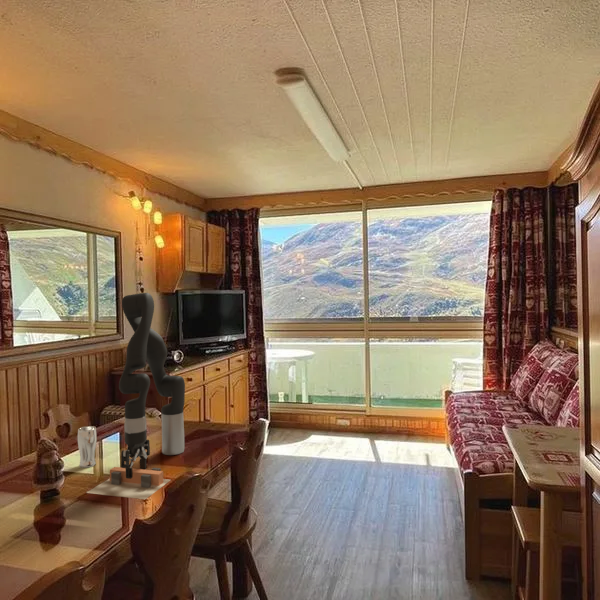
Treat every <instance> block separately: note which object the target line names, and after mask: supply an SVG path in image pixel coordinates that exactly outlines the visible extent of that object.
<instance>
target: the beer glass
mask: <svg viewBox="0 0 600 600" xmlns="http://www.w3.org/2000/svg"><path fill="white" fill-rule="evenodd" d="M77 445H78V446H77V448H78V450H79V451H78V452H79V456H80V457H79V458H80V460H79V464H78V465H79V466H78V467H79V468H81V469H87V468H88V469H89V468H92V467H94V466H96V464H97V463H96V459H95V457H96V456H95V455H96V454H95V453H96V446H97V427H96V426H94V425H93V426H92V425H89V426H81V427H80V428H78V429H77Z"/></svg>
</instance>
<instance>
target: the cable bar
mask: <svg viewBox="0 0 600 600" xmlns="http://www.w3.org/2000/svg"><path fill="white" fill-rule="evenodd" d="M132 471H133V477H132V478H131V479H128V478H126V469H125V468H121V466H114V467H112V468H110V469H109V478H110V481H111V473H112V472H121V482H127V483H137V484H141V476H142V475H143V474H146V475H151V485H157V486H159V485H161V484H162V483H163V479H164V471H163V470H161V471H154V470H151V469H145V470H143V469H140V468H133V467H132Z"/></svg>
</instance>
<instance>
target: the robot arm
mask: <svg viewBox="0 0 600 600" xmlns="http://www.w3.org/2000/svg"><path fill="white" fill-rule="evenodd" d="M121 307H122V311H123V314H124V316H125V318H126V319H127V321H128V323H129V325H130V327H131V328H132V330H133V332H134V333H133V334H132V336H131V338H130V339H129V340H128V341H129V342H128V344H127V347H126V357H125V358H126V359H125V364H124V368H123V371H122V373H121V376H120V378H119V382H118V390H119V391H120V393H122V394H124V395H131V394H138V395H139V396H138V397H136V398H133V399H132V398H131V399H129V400H127V401H125V404H124V427H123V428H124V444H126V446H127V448H126V449H125V450H124V449H123V450H121V452H120V453H121V454H120V467H121V468H125V469H126V478H128V479H131V478H132V477H133V471H132V468H133V465H134V463H135V462H136V460H137V459H138V458H139V469H143V470H147V458H148V457H149V456H150V455H151V449H150V440H149V439H148V438H147V435H148V434H147V433H148V431H147V416H146V404H147V403H146V402H147V396H148V393H149V389H150V385H151V379H150V376H149V375H148V374H147V373H134V372H135V371H138V370H142V369H144V368H145V367H146V365H147V364H148V367H149V370H150V373H151V375H152V378H153V383H154V385H155V388H156V392H157V393H158V394H159V395H160V396H161V397H164V398H171V401H170V403H167V404H164V405H163V406H161V453H162V455H166V456H174V455H176V456H177V455H180V454H182V453H184V451H185V428H184V427H185V426H184V422H185V421H184V407H185V403H186V402H185V398H186V397H185V395H186V383H185V379H184V377H183V376H181V375H170V374H169V375H168V374H167V373H166V369H165V363H166V361H167V357H168V349H167V345H166V343H165V341H164V339H163V337H162V336H161V334H159V333H158V332H157V331H155V329H153V328H151V326H152V322H153V317H154V312H155V301H154V298H153V296H152V294H151V293H149V292H142V293H134V294H133V293H132V294H127V295H124V297H122V299H121Z"/></svg>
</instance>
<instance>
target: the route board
mask: <svg viewBox="0 0 600 600" xmlns="http://www.w3.org/2000/svg"><path fill="white" fill-rule="evenodd" d="M150 470H154V471H162V469H161V467H152V468H151V469H150ZM170 481H171V479H168V478H167V479H166V478H163V483H162V484H161V485H159V486H157V485H151V475H146V474H143V475H142V476H141V484H137V483H127V482H121V472H112V473H111V481H110V477H109V478H108V479H106V480H105V481H103V482H101V483H99V484H98V485H96V486H95V487H93V488H91V489H90V490H87V491H86V494H94V495H102V496H112V497H120V498H129V499H139V500H147V499H148V498H149V497H151V496H152V495H154V494H155V493H156V492H157V491H159V490H160V489H161V488H162V487H164V486H165V485H167V484H168V483H169V482H170Z"/></svg>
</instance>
